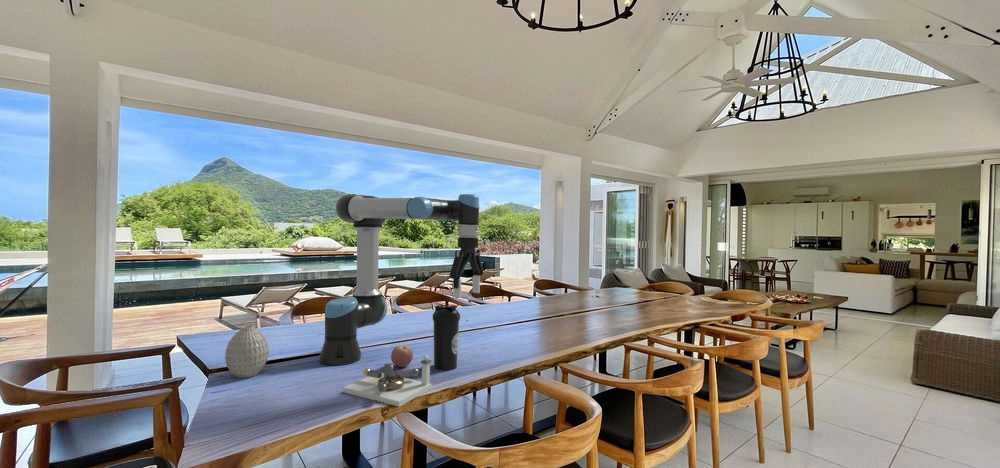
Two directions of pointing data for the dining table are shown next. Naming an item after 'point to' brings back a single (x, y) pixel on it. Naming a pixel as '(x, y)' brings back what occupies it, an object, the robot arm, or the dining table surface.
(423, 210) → the robot arm
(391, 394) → the stand base
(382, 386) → the capstan
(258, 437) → the dining table surface
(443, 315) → the water bottle
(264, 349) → the vase
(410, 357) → the apple
